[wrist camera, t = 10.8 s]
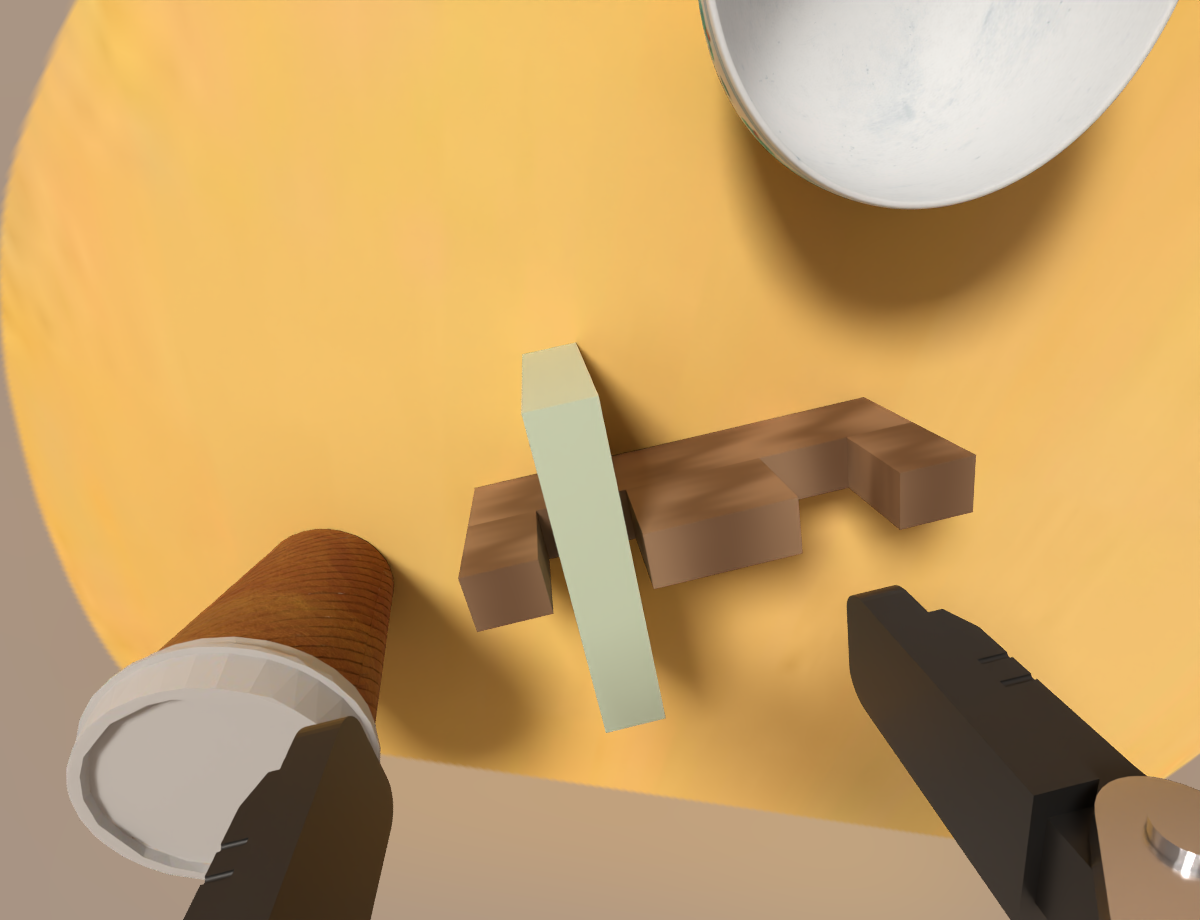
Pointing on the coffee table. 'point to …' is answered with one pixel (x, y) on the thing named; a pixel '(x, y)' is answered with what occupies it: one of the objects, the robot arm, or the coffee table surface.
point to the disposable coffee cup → (232, 700)
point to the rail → (719, 501)
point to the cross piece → (590, 532)
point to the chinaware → (924, 86)
